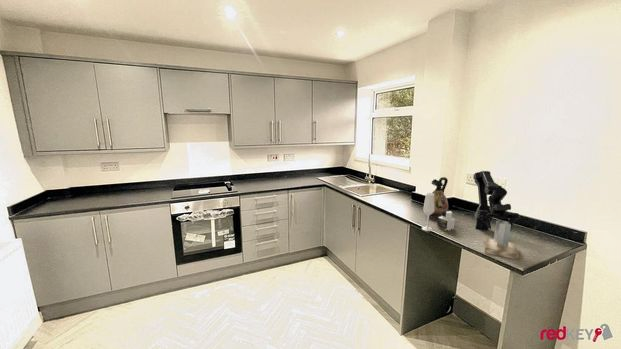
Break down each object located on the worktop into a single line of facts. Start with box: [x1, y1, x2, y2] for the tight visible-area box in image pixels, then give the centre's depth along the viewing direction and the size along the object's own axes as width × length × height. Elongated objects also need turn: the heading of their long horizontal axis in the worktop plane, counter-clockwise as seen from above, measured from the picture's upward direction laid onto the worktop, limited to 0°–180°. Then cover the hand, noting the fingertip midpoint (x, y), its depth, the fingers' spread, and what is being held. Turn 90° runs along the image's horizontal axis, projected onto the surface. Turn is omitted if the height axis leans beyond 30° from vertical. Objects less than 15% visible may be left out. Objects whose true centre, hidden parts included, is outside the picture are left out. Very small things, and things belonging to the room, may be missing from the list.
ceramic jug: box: [429, 177, 449, 219], centre depth 189 cm, size 17×15×30 cm
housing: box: [493, 220, 512, 248], centre depth 137 cm, size 5×5×13 cm
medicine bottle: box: [436, 209, 456, 231], centre depth 168 cm, size 7×7×12 cm
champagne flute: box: [421, 192, 434, 232], centre depth 166 cm, size 7×7×24 cm
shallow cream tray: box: [483, 237, 519, 260], centre depth 138 cm, size 14×14×3 cm
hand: (500, 230), depth 139 cm, fingers open, 9 cm apart
